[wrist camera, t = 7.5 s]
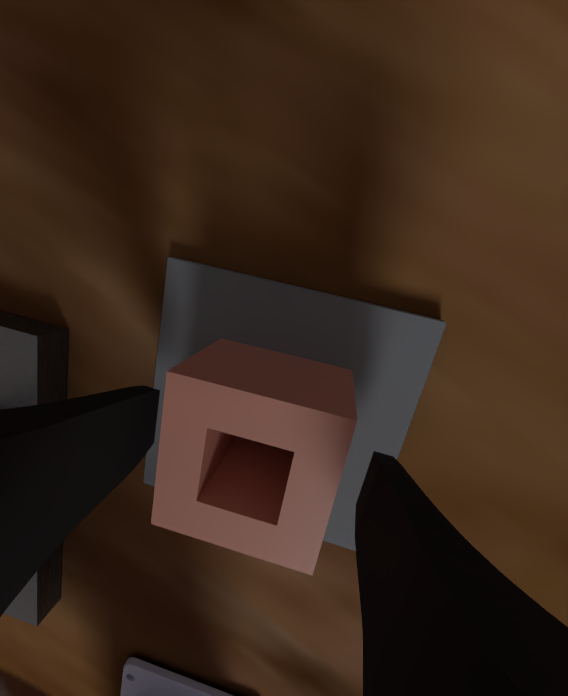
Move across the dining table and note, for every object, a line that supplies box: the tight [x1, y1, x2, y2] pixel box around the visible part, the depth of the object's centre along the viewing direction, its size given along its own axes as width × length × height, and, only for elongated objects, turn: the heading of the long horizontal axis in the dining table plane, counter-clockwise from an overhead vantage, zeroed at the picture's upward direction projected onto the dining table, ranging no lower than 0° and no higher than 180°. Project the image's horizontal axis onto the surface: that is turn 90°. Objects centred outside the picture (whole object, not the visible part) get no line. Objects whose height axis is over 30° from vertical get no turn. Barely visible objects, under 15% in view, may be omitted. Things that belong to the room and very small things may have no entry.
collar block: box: [151, 338, 357, 575], centre depth 11 cm, size 5×5×4 cm
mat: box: [143, 257, 446, 551], centre depth 13 cm, size 10×10×1 cm
